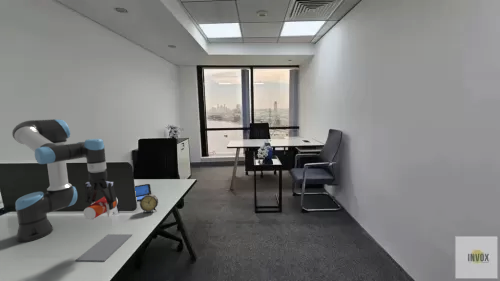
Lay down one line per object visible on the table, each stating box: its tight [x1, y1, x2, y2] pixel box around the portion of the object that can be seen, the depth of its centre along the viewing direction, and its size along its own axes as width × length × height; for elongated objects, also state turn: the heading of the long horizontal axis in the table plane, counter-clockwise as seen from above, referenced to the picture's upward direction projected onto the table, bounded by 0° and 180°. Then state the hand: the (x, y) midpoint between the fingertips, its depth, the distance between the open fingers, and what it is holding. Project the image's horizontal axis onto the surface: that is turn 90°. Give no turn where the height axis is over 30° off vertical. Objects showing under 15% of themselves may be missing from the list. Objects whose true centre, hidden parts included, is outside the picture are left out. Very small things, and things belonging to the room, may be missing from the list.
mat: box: [75, 233, 133, 262], centre depth 115 cm, size 14×22×1 cm, turn 177°
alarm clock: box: [139, 189, 159, 213], centre depth 154 cm, size 11×5×16 cm, turn 98°
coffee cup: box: [83, 195, 119, 221], centre depth 112 cm, size 8×8×15 cm
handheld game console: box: [134, 183, 152, 202], centre depth 180 cm, size 16×13×9 cm
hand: (102, 215), depth 113 cm, fingers closed on coffee cup, 7 cm apart
